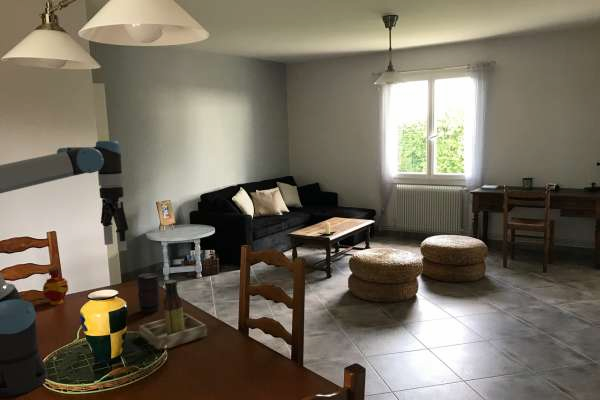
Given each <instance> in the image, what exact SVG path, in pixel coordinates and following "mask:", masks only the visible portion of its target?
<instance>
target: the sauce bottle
mask: <svg viewBox="0 0 600 400" xmlns="http://www.w3.org/2000/svg"><path fill="white" fill-rule="evenodd" d="M177 286H178V281H177V280H176V279H168V280H165V282H164V287H165V296H164V299H163V310H164V311H163V312H164V319H165V323H166V333H167V336H168V335H171V334H175V333H178V332H181V331H184V330H185V328H184V318H183V313H184V310H183V309H184V308H183V302H182V300H181V298H180V295H179V293H178V287H177Z"/></svg>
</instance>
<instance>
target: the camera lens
mask: <svg viewBox="0 0 600 400" xmlns="http://www.w3.org/2000/svg"><path fill="white" fill-rule="evenodd" d="M159 280H160V279H159V275H158V274H157V273H153V272H146V273H141V274H139V275H138V276H137V288H138V289H137V290H138V293H137V296H138V303H139V304H138V305H139V309H140V310H141V313H142V314H144V315H145V314H147V315H149V314H154V313H156V312H158V311H159V307H160V294H159V293H160V291H159V290H160V289H159V287H160V283H159Z"/></svg>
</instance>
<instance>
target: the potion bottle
mask: <svg viewBox="0 0 600 400" xmlns="http://www.w3.org/2000/svg"><path fill="white" fill-rule="evenodd" d="M59 269H60V268H59V267H58V268H57V267H54V268H53V267H52V268H49V269H48V275H49V276H50V278H47V279H46V281H45V283H44V284H43V287H42V291H41V292H42V294H43V296H44V297H45V298H47V299H48V300H49V301H50V305H53V306H55V305H60V304H63V303H64V300H63V299H64V298H65V296H66V294H67V293H68V292H69V285H68V280H67V279H66V278H64V277H60V276H59V274H61V271H60V270H59Z"/></svg>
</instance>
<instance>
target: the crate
mask: <svg viewBox="0 0 600 400" xmlns="http://www.w3.org/2000/svg"><path fill="white" fill-rule="evenodd" d="M183 318H184V328H185V330H184V331H181V332H178V333H175V334H171V335H168V336H167V333H166V323H165V318H163V319H159V320H156V321H152V322H147V323H144V324H142V325H141V324H140V325H138V329H139V331H138V332H139V335H140V334H141V335H142V336H143V337H144V338H145V339H147V340H148V341H149V342H150V343H151V344H153V345H154V346H155V347H156V348H158V349H160V348H163V347H164V346H165V345H167V347H168V349H171V348H174V347H177V346H179V345H182V344H186V343H190V342H192V341H195V340H198V339H202V338H204V337H207V336H208V328H207V324H206V323H204V322H202V321H200V320H198V319H197V318H195V317H194V316H192V315H190V314H188V313H186V312H183ZM157 336H158V337H157ZM159 337H160V338H159Z"/></svg>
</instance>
